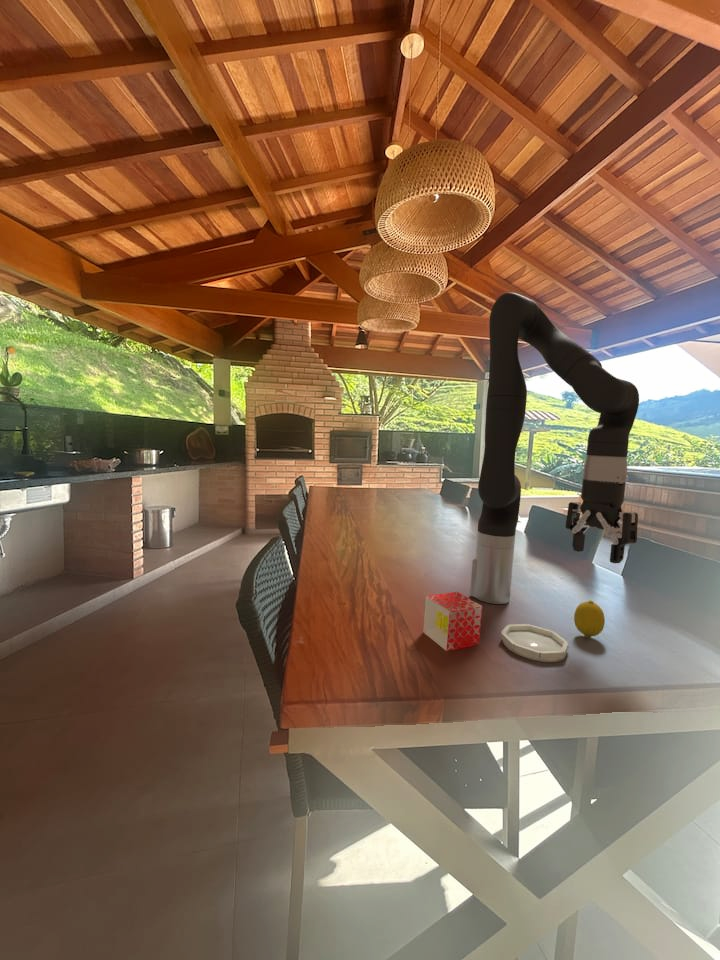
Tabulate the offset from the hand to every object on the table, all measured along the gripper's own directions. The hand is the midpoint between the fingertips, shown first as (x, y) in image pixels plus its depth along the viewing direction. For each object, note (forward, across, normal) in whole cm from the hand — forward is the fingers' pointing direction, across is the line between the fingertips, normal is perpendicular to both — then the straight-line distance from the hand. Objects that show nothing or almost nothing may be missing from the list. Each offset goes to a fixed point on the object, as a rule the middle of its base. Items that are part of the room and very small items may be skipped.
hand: (595, 556), depth 83 cm
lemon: (+18, 0, 0) cm, 18 cm away
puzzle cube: (+18, -7, -29) cm, 35 cm away
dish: (+17, 0, -14) cm, 23 cm away
